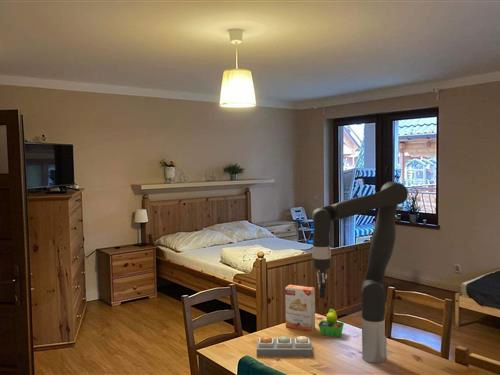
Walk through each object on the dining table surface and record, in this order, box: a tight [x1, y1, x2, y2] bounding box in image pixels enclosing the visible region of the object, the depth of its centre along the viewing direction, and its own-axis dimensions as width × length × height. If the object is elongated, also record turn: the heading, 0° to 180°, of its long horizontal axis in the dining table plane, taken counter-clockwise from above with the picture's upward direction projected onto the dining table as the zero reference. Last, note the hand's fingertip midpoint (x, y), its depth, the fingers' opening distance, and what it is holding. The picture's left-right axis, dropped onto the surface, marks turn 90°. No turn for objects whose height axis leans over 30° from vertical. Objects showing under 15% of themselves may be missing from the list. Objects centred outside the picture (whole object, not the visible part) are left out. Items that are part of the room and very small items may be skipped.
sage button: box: [278, 335, 290, 343], centre depth 197 cm, size 4×4×2 cm
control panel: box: [256, 337, 313, 357], centre depth 197 cm, size 24×12×4 cm, turn 87°
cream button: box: [296, 335, 308, 343], centre depth 196 cm, size 4×4×2 cm
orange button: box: [260, 335, 272, 343], centre depth 197 cm, size 4×4×2 cm
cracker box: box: [284, 284, 316, 332], centre depth 223 cm, size 14×6×21 cm, turn 62°
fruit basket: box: [318, 308, 345, 338], centre depth 215 cm, size 11×9×11 cm
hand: (322, 297), depth 184 cm, fingers closed
